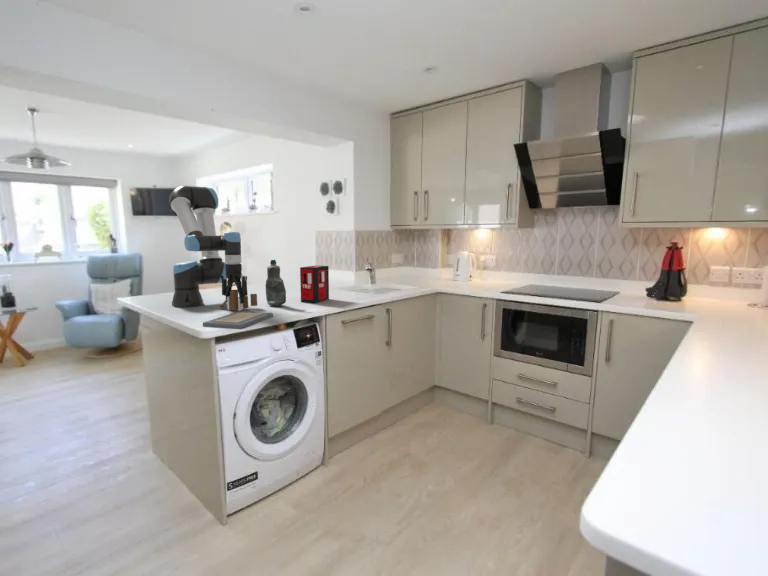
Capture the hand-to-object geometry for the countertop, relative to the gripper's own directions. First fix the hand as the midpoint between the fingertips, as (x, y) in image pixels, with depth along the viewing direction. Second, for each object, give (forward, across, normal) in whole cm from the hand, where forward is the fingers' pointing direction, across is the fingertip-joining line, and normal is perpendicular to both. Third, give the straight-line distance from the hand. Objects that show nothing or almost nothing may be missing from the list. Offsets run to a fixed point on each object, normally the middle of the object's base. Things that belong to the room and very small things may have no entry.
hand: (235, 309), depth 199 cm
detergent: (+1, +12, +19) cm, 22 cm away
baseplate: (+1, +15, -19) cm, 25 cm away
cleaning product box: (+1, +25, +41) cm, 48 cm away
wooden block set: (+1, 0, +3) cm, 3 cm away
